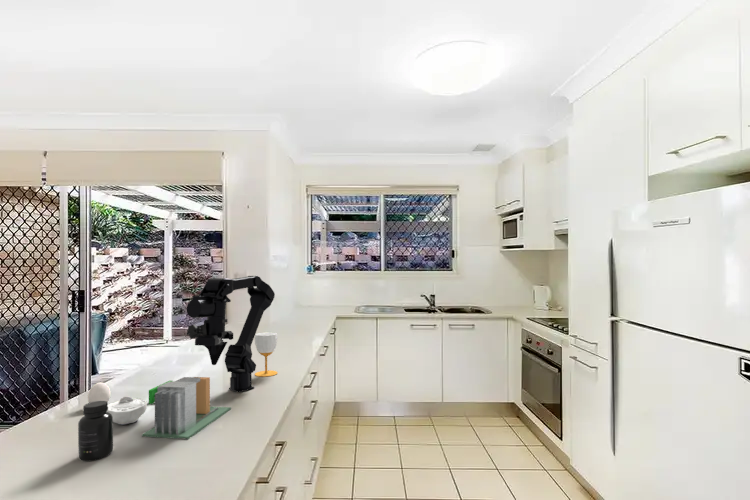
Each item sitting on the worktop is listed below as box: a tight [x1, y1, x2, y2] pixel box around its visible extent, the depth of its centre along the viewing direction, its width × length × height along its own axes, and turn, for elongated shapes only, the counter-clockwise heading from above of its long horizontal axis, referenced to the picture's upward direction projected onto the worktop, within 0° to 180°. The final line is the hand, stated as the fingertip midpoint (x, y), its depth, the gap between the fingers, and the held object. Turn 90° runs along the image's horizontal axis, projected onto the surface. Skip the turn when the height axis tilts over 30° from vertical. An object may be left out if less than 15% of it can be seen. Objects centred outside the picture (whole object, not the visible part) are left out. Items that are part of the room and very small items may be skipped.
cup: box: [254, 331, 278, 378], centre depth 171 cm, size 9×9×16 cm
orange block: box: [196, 376, 211, 414], centre depth 125 cm, size 2×5×10 cm, turn 81°
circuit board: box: [141, 405, 232, 440], centre depth 120 cm, size 22×13×1 cm, turn 171°
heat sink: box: [154, 376, 219, 435], centre depth 119 cm, size 20×8×12 cm, turn 171°
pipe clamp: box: [148, 380, 170, 405], centre depth 141 cm, size 11×4×5 cm, turn 173°
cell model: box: [107, 395, 148, 426], centre depth 120 cm, size 10×12×7 cm
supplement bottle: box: [77, 401, 114, 462], centre depth 99 cm, size 7×7×12 cm
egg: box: [87, 382, 112, 403], centre depth 133 cm, size 6×6×8 cm
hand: (214, 364), depth 138 cm, fingers closed
